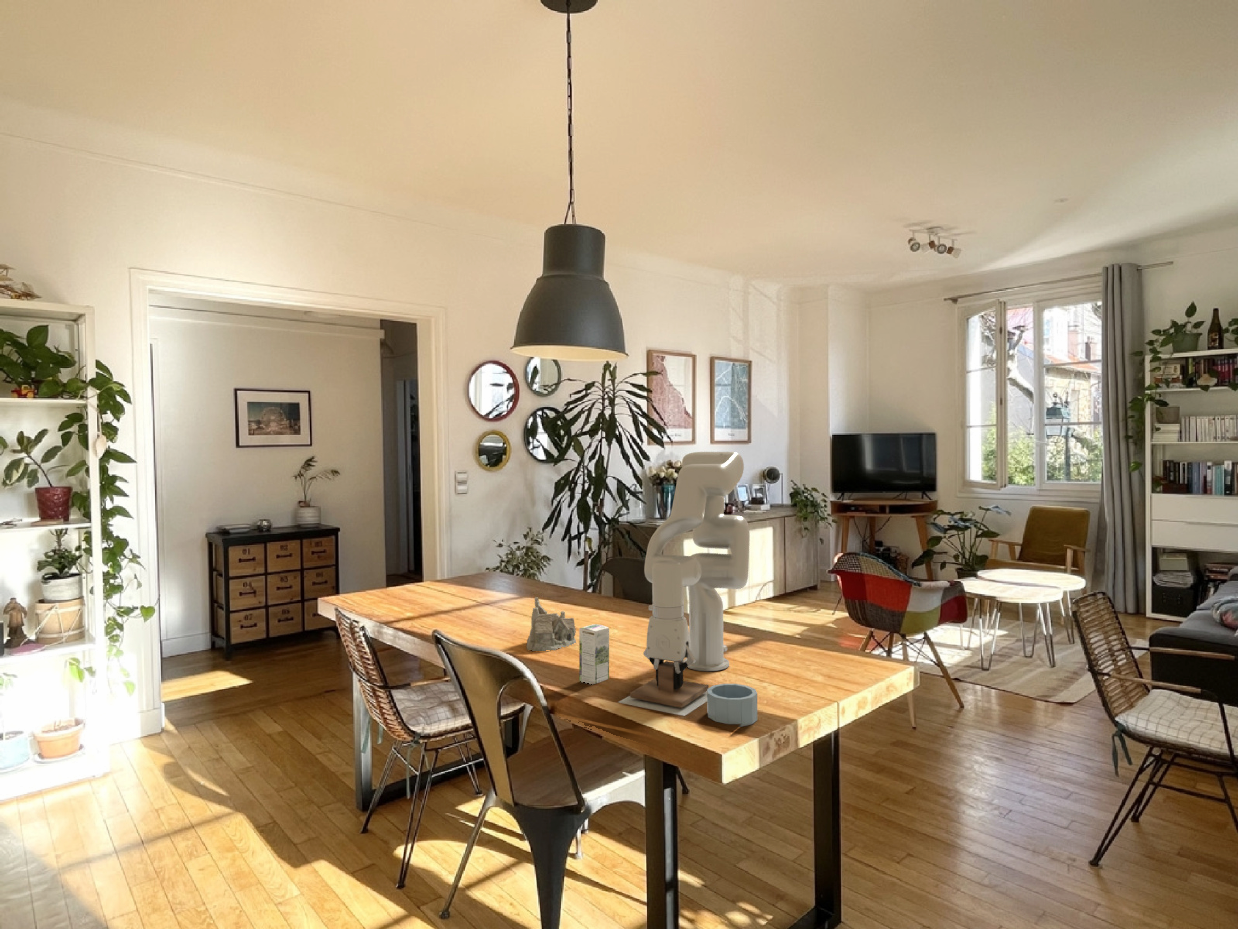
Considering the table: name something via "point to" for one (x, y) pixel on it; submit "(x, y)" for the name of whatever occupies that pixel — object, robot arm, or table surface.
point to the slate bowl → (732, 704)
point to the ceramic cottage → (550, 630)
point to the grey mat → (667, 708)
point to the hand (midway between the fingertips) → (669, 685)
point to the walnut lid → (668, 688)
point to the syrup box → (593, 653)
